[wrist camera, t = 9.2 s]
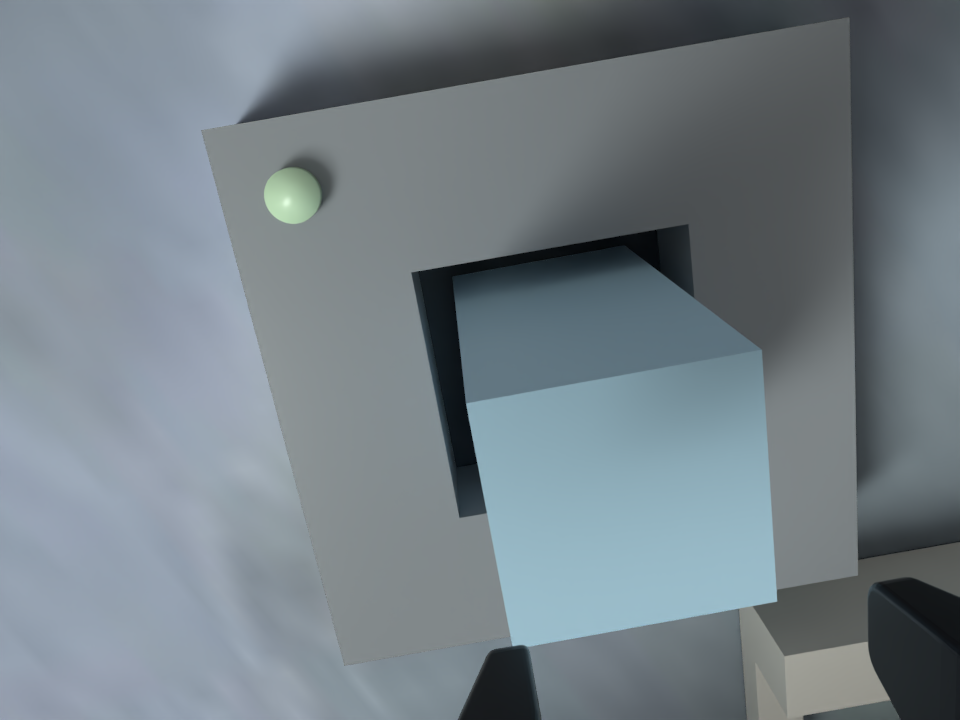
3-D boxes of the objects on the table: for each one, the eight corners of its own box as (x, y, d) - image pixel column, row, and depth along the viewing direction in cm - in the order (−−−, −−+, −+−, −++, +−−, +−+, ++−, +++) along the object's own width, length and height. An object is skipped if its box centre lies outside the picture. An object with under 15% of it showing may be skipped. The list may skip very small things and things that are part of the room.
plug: (482, 434, 19) (512, 649, 12) (452, 276, 18) (465, 403, 11) (642, 405, 19) (777, 601, 12) (624, 245, 18) (762, 349, 11)
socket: (354, 600, 21) (342, 677, 18) (234, 126, 17) (195, 131, 14) (809, 520, 21) (867, 585, 18) (790, 28, 17) (860, 14, 14)
